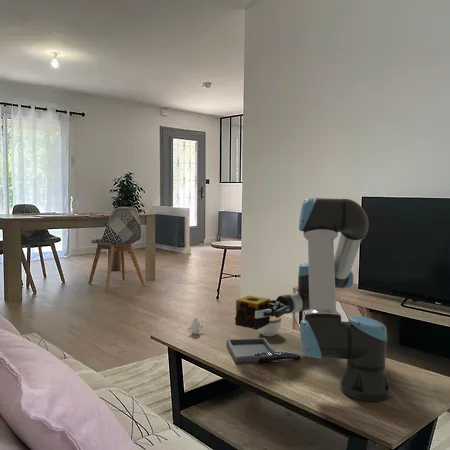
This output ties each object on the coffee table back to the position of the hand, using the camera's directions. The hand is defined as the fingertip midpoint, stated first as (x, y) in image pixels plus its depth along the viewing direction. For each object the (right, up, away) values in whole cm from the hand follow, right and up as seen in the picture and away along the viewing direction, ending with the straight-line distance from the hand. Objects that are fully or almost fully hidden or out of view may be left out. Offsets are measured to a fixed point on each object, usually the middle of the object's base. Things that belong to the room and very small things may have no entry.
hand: (245, 310), depth 170 cm
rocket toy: (-21, -15, +25) cm, 36 cm away
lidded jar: (+11, -16, +27) cm, 33 cm away
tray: (+2, -17, +3) cm, 18 cm away
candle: (+3, -6, +2) cm, 7 cm away
